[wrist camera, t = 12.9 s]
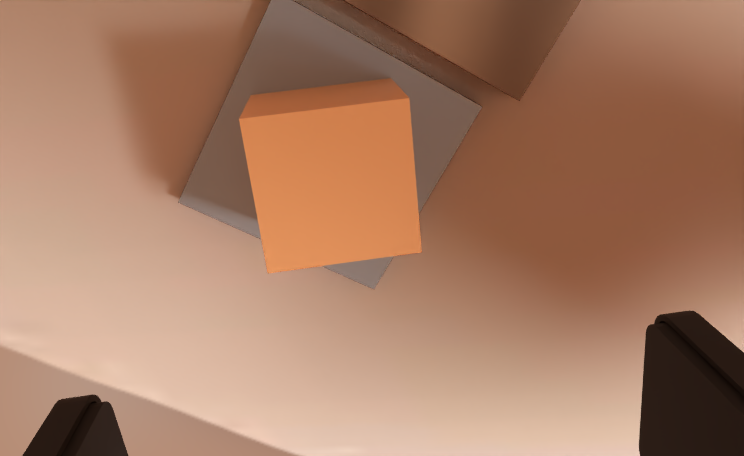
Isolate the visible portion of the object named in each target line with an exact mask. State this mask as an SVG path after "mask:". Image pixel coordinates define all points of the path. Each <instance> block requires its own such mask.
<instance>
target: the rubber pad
mask: <svg viewBox="0 0 744 456" xmlns="http://www.w3.org/2000/svg"><path fill="white" fill-rule="evenodd" d="M388 78H391V79H392V80H393V81H394V82H395V83H396V84H397V85H398V86H399V87H400V88H401V89H402V91H403V92H404V93H405V94H406V95H407V96H408V97H409V100H410V112H411V125H412V137H413V150H414V162H415V175H416V187H417V200H418V212H419V213H420V211H421V209H422V208H423V206H424V204H425V203H426V201H427V199H428V198H429V196H430V194H431V192H432V191H433V189H434V187H435V186H436V184H437V182H438V181H439V179H440V177H441V176H442V174H443V172H444V171H445V169H446V167H447V165H448V164H449V162H450V160H451V159H452V157H453V155H454V154H455V152H456V150H457V149H458V147H459V145H460V144H461V142H462V140H463V138H464V137H465V135H466V133H467V132H468V130H469V128H470V127H471V125H472V123H473V122H474V120H475V118H476V117H477V115H478V113H479V111H480V110H481V108H482V106H480V105H479V104H477V103H475V102H473V101H471V100H470V99H468V98H466V97H464V96H463V95H461V94H459V93H457V92H455V91H454V90H452V89H450V88H448V87H447V86H445V85H443V84H441V83H439V82H438V81H436V80H434V79H432V78H430V77H429V76H427V75H425V74H423V73H422V72H420V71H418V70H416V69H414V68H413V67H411V66H409V65H407V64H406V63H404V62H402V61H400V60H398V59H397V58H395V57H393V56H391V55H389V54H388V53H386V52H384V51H382V50H381V49H379V48H377V47H375V46H373V45H372V44H370V43H368V42H366V41H365V40H363V39H361V38H359V37H357V36H356V35H354V34H352V33H350V32H348V31H347V30H345V29H343V28H341V27H340V26H338V25H336V24H334V23H332V22H331V21H329V20H327V19H325V18H324V17H322V16H320V15H318V14H316V13H315V12H313V11H311V10H309V9H307V8H306V7H304V6H302V5H300V4H299V3H297V2H295V1H293V0H271V1H270V3H269V6H268V8H267V10H266V12H265V14H264V16H263V19H262V21H261V23H260V25H259V27H258V30H257V32H256V34H255V36H254V38H253V40H252V43H251V45H250V47H249V49H248V51H247V53H246V56H245V58H244V60H243V62H242V64H241V66H240V69H239V71H238V73H237V75H236V77H235V80H234V82H233V84H232V86H231V88H230V90H229V93H228V95H227V97H226V99H225V101H224V103H223V106H222V108H221V110H220V112H219V114H218V116H217V119H216V121H215V123H214V125H213V127H212V130H211V132H210V134H209V136H208V138H207V140H206V143H205V145H204V147H203V149H202V151H201V153H200V156H199V158H198V160H197V162H196V164H195V166H194V169H193V171H192V173H191V175H190V177H189V180H188V182H187V184H186V186H185V188H184V190H183V193H182V195H181V197H180V199H179V201H178V203H180V204H183V205H185V206H187V207H189V208H192V209H194V210H196V211H198V212H201V213H203V214H205V215H207V216H210V217H212V218H214V219H216V220H219V221H221V222H223V223H225V224H228V225H230V226H232V227H235V228H237V229H239V230H241V231H244V232H246V233H248V234H250V235H253V236H255V237H257V238H259V239H261V235H260V229H259V224H258V219H257V213H256V208H255V202H254V197H253V192H252V186H251V181H250V176H249V170H248V165H247V160H246V154H245V149H244V144H243V138H242V133H241V127H240V122H239V118H240V116H241V114H242V112H243V110H244V108H245V106H246V104H247V102H248V100H249V98H250V96H251V95H256V94H264V93H272V92H281V91H289V90H297V89H305V88H314V87H322V86H330V85H338V84H347V83H355V82H363V81H371V80H380V79H388ZM393 257H394V256H391V257H384V258H376V259H369V260H362V261H354V262H347V263H340V264H333V265H325V266H322V267H325V268H327V269H329V270H331V271H334V272H336V273H338V274H340V275H343V276H345V277H347V278H349V279H352V280H354V281H356V282H358V283H361V284H363V285H365V286H367V287H370V288H372V289H375V287H376V285H377V284H378V282H379V280H380V279H381V277H382V275H383V274H384V272H385V270H386V268H387V267H388V265H389V263H390V262H391V260H392V258H393Z"/></svg>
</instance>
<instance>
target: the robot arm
mask: <svg viewBox="0 0 744 456" xmlns="http://www.w3.org/2000/svg"><path fill="white" fill-rule="evenodd" d="M639 451H640V456H744V353H743V352H742V351H741V350H740V349H739V348H738V347H736V346H735V345H734V344H733V343H732V342H731V341H729V340H728V339H727V338H726V337H725V336H724V335H722V334H721V333H720V332H719V331H718V330H717V329H715V328H714V327H713V326H712V325H711V324H710V323H708V322H707V321H706V320H705V319H704V318H703V317H701V316H700V315H699V314H698V313H696V312H695V311H683V312H676V313H669V314H662V315H659V316H657V318H656V320H655V323H654V324H651V325H649V326H648V327H647V330H646V341H645V357H644V373H643V389H642V405H641V421H640V437H639ZM23 456H128V454H127V450H126V447H125V445H124V442H123V438H122V435H121V432H120V429H119V426H118V423H117V420H116V417H115V414H114V411H113V408H112V406H111V404H110V403H109V402H101V400H100V399H99V397H98V396H96V395H87V396H80V397H73V398H66V399H61V400H59V401H58V402H57V403H56V404H55V405H54V407H53V408H52V410H51V411H50V413H49V415H48V416H47V418H46V419H45V421H44V422H43V424H42V426H41V427H40V429H39V430H38V432H37V433H36V435H35V437H34V438H33V440H32V442H31V443H30V445H29V446H28V448H27V449H26V451H25V452H24V454H23Z"/></svg>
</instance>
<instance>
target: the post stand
mask: <svg viewBox="0 0 744 456" xmlns="http://www.w3.org/2000/svg"><path fill="white" fill-rule="evenodd" d="M344 1H346V2H348V3H349V4H351V5H353V6H354V7H356V8H358V9H360V10H361V11H363V12H365V13H367V14H368V15H370V16H372V17H374V18H375V19H377V20H379V21H381V22H382V23H384V24H386V25H388V26H389V27H391V28H393V29H395V30H396V31H398V32H400V33H401V34H403V35H405V36H407V37H408V38H410V39H412V40H414V41H415V42H417V43H419V44H421V45H422V46H424V47H426V48H428V49H429V50H431V51H433V52H435V53H436V54H438V55H440V56H442V57H443V58H445V59H447V60H448V61H450V62H452V63H454V64H455V65H457V66H459V67H461V68H462V69H464V70H466V71H468V72H469V73H471V74H473V75H475V76H476V77H478V78H480V79H482V80H483V81H485V82H487V83H489V84H490V85H492V86H494V87H495V88H497V89H499V90H501V91H502V92H504V93H506V94H508V95H509V96H511V97H513V98H515V99H517V100H519V101H520V99H521V97H522V96H523V94H524V93H525V91H526V89H527V88H528V86H529V84H530V83H531V81H532V79H533V78H534V76H535V74H536V73H537V71H538V70H539V68H540V66H541V65H542V63H543V61H544V60H545V58H546V56H547V55H548V53H549V52H550V50H551V48H552V47H553V45H554V43H555V42H556V40H557V38H558V37H559V35H560V33H561V32H562V30H563V29H564V27H565V25H566V24H567V22H568V20H569V19H570V17H571V15H572V14H573V12H574V10H575V9H576V7H577V6H578V4H579V2H580V1H581V0H344Z"/></svg>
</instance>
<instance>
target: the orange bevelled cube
mask: <svg viewBox="0 0 744 456" xmlns="http://www.w3.org/2000/svg"><path fill="white" fill-rule="evenodd" d="M239 122H240V127H241V133H242V138H243V144H244V149H245V154H246V160H247V165H248V170H249V176H250V181H251V186H252V192H253V197H254V202H255V208H256V213H257V219H258V224H259V229H260V235H261V240H262V245H263V251H264V256H265V261H266V267H267V272H268V273H274V272H281V271H289V270H296V269H303V268H311V267H318V266H325V265H333V264H340V263H347V262H354V261H362V260H369V259H376V258H384V257H391V256H398V255H405V254H413V253H420V252H422V249H421V237H420V224H419V212H418V200H417V187H416V175H415V162H414V150H413V137H412V125H411V112H410V100H409V97H408V96H407V95H406V94H405V93H404V92H403V91H402V89H401V88H400V87H399V86H398V85H397V84H396V83H395V82H394V81H393V80H392V79H391V78H388V79H380V80H371V81H363V82H355V83H347V84H338V85H330V86H322V87H314V88H305V89H297V90H289V91H281V92H272V93H264V94H256V95H251V96H250V98H249V100H248V102H247V104H246V106H245V108H244V110H243V112H242V114H241V116H240V118H239Z"/></svg>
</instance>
